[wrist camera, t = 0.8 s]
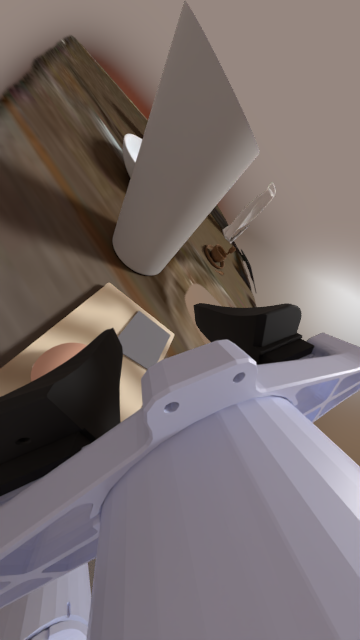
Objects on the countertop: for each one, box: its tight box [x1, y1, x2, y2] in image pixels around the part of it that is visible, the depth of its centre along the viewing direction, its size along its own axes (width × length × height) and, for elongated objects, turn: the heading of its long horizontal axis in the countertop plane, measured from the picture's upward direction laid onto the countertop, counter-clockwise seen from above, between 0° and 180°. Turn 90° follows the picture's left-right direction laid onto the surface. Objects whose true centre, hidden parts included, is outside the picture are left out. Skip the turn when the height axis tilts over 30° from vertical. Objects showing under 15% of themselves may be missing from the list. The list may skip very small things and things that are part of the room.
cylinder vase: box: [113, 1, 260, 275], centre depth 23 cm, size 12×12×25 cm
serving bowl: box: [123, 134, 142, 178], centre depth 42 cm, size 21×21×7 cm
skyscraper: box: [222, 182, 276, 243], centre depth 72 cm, size 8×8×28 cm
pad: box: [118, 311, 170, 369], centre depth 24 cm, size 8×8×1 cm
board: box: [0, 283, 175, 422], centre depth 20 cm, size 20×16×2 cm
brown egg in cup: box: [31, 343, 87, 382], centre depth 14 cm, size 5×5×5 cm
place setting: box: [205, 244, 236, 275], centre depth 60 cm, size 18×20×6 cm
